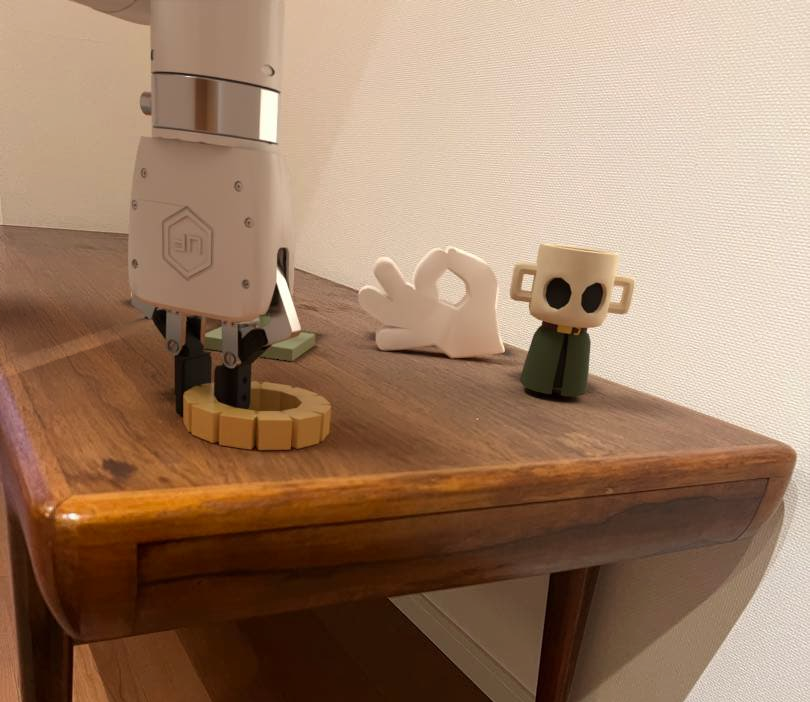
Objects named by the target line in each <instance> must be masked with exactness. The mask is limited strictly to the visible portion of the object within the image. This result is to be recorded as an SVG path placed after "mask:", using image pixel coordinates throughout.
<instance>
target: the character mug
mask: <svg viewBox="0 0 810 702" xmlns="http://www.w3.org/2000/svg"><path fill="white" fill-rule="evenodd" d="M537 250H538V251H537V257H536V262H535V263H532V262H524V261H519V262H516V263H515V264H514V267H513V269H512V275H511V282H510V288H509V297H510V299H511V300H513V301H515V302H523V303H528V310H529V315H530V316H532V317H533V318H535V319H536V320H538V321H541V325H539V327H537V328H536V330H535V332H534V333H533V336H532V339H531V342H530V345H529V348H528V351H527V355H526V357H525V360H524V363H523V367H522V372H521V374H520V378H519V381H520V383H521V385H522V386H523V387H524V388H526V389H529V390H531V391H533V392H536V393H542V394H545V395H552V391H553V389H561V391H560V396H562V397H580V396H584V395H585V394H586V391H587V388H588V381H589V380H588V379H589V371H590V357H591V346H592V345H591V344H592V343H591V342H592V341H591V337H590V334H589V333H588V329H590V328H591V329H592V328H598V327H601V326H602V325H603V323H604V322H605V320H606V319H607V316H608V313H609V314H616V315H625V314H628V313H629V311H630V309H631V305H632V301H633V297H634V292H635V290H636V289H635V288H636V277H633V276H631V275H625V274H617V271H618V266H619V261H620V253H618V252H614V251H610V250H605V249H600V248H593V247H587V246H578V245H571V244H563V243H551V242H541V243H539V247H538V249H537ZM525 275H528V276H529V275H530V276H533V279H532V285H531V290H523V289H522V287H523V280H524V276H525ZM614 287H619V288H620V287H622V288H623V289H622V293H621V297H620V301H619V302H616V301H611V297H612V295H613V294H612V293H613V290H614V289H613V288H614Z"/></svg>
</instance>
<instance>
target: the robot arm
mask: <svg viewBox="0 0 810 702" xmlns="http://www.w3.org/2000/svg"><path fill="white" fill-rule="evenodd" d="M69 2H73V3H76V4H79V5H81V6H85V7H88V8H90V9H92V10H93V11H96V12H99V13H102V14H105V15H108V16H111V17H114V18H117V19H120V20H123V21H126V22H129V23H132V24H136V25H142V26H149V30H150V31H149V33H150V34H149V37H150V38H149V39H150V41H149V42H150V74H151V75H150V91H143V92H141V95H140V96H139V107H140V110H141V112H142V113H143V114H144V115H145V116H149V117H151V136H142V135H140V139H139V143H138V146H137V151H136V155H135V160H134V161H135V162H134V168H133V173H132V180H131V183H132V184H131V190H130V201H129V211H130V214H129V213H128V214H129V215H128V218H129V219H128V239H127V240H128V242H127V273H128V274H127V275H128V285H129V289H130V293H131V292H132V297H131V296H130V301H131V302H130V303H131V305H132V307H134V309H135V310H137V311H138V312H140V314H142V315H144V317H147V318H146V319H149V320H150V321H151V320H152V322H153V324H154V326H155V327H156V329H157V331H159V333H160V334H161V336H162V338H163V339H164V340H165V349H166V351H167V353H168V354H169V355H171V356H174V396H175V413H176V414H177V415H180V416H183V395H184V392H186V391H188V390H189V389H191V388H193V387H194V386H200V385H201V384H207V383H212V368H213V367H212V366H213V365H212V362H213V361H212V360H213V359H212V356H211V352H210V351H207V350H205V349H204V345H205V333H206V328H207V327H206V326H207V318H208V319H214V320H219V321H221V327H222V351H221V359H222V364H219V365H216V366H215V368H214V371H213V374H214V375H213V383H214V396H215V397H216V399H217V400H218V402H220V403H223V404H226V405H228V406H231V407H234V408H241V409H247V410H248V409H249V406H250V397H251V381H252V365H253V363H257V362H259V360H260V359H261V357H260V356H261V355H262V354H263V353H264V352H265V351H266V350H267V349H268V348H269V347H271V346H272V345H273V344H275V343H279V342H282V341H285V340H288V339H291V338H294V337H297V336H299V334H300V333H301V332H302V327H301V324H300V320H299V317H298V314H297V311H296V307H295V304H294V301H293V297H294V296H293V295H294V286H295V285H294V284H295V262H296V261H295V257H296V255H295V253H296V252H295V250H296V249H295V217H294V203H293V192H292V183H291V175H290V169H289V168H290V167H289V163H288V157H287V154H282V153H280V152H279V151H280V150H279V148H280V145H279V144H280V130H281V129H280V126H281V106H282V105H281V103H282V80H283V61H284V60H283V57H284V38H285V20H286V19H285V18H286V17H285V15H286V0H69ZM260 316H267V317H270V322H269V324H267V325H265V326H263V327H260ZM186 317H187V319H186Z"/></svg>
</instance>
